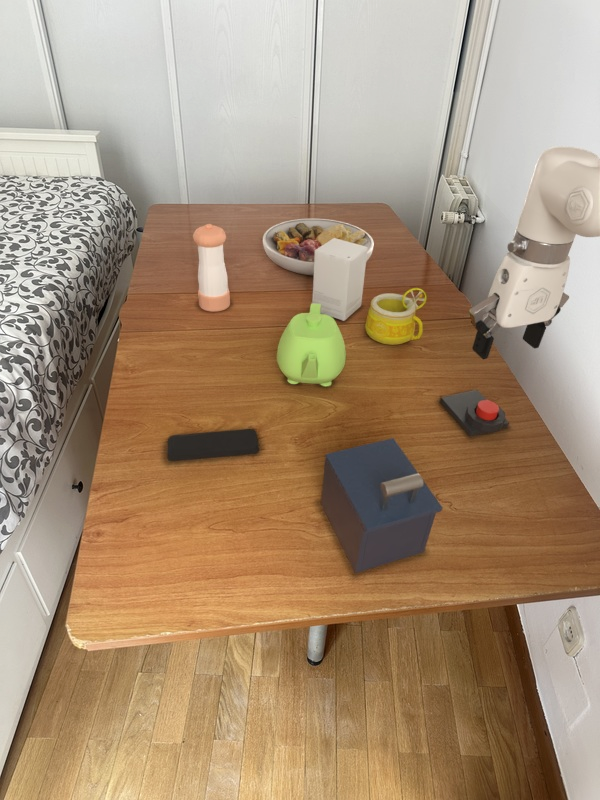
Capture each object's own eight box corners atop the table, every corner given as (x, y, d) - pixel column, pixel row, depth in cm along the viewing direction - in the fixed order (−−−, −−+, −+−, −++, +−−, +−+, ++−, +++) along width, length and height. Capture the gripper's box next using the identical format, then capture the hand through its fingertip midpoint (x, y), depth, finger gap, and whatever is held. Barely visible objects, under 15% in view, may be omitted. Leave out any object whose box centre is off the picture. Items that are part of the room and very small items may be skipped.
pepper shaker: (204, 314, 123) (196, 232, 111) (195, 299, 128) (187, 220, 116) (234, 308, 125) (230, 228, 113) (224, 294, 130) (220, 216, 118)
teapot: (343, 407, 99) (350, 350, 91) (271, 401, 99) (271, 344, 91) (344, 346, 114) (350, 293, 106) (281, 342, 115) (282, 289, 107)
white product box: (362, 306, 128) (369, 246, 119) (344, 322, 122) (350, 260, 113) (329, 295, 132) (334, 236, 122) (310, 310, 126) (313, 249, 116)
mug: (354, 337, 117) (360, 288, 110) (378, 317, 124) (385, 269, 117) (408, 358, 112) (418, 307, 104) (429, 335, 119) (440, 286, 112)
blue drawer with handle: (441, 511, 68) (450, 483, 65) (366, 533, 65) (371, 504, 62) (392, 441, 78) (398, 413, 75) (325, 457, 75) (327, 429, 72)
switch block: (511, 432, 95) (516, 419, 93) (473, 441, 93) (477, 429, 91) (475, 394, 103) (479, 381, 102) (439, 402, 101) (442, 389, 99)
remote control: (256, 435, 93) (167, 441, 90) (256, 428, 92) (166, 433, 89) (259, 455, 89) (166, 461, 87) (259, 448, 88) (166, 454, 85)
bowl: (277, 229, 162) (277, 203, 157) (376, 241, 158) (379, 214, 153) (250, 273, 139) (249, 244, 134) (365, 287, 135) (369, 258, 130)
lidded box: (424, 552, 75) (438, 507, 69) (355, 573, 72) (363, 528, 66) (383, 487, 84) (392, 442, 78) (320, 503, 81) (325, 458, 75)
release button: (500, 418, 94) (503, 410, 93) (483, 422, 93) (485, 415, 92) (488, 405, 97) (491, 398, 96) (471, 409, 96) (473, 402, 95)
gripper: (505, 265, 69) (473, 372, 80) (609, 250, 74) (564, 352, 85) (471, 242, 74) (445, 345, 85) (570, 229, 79) (533, 328, 90)
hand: (505, 348), depth 85 cm, fingers open, 9 cm apart
